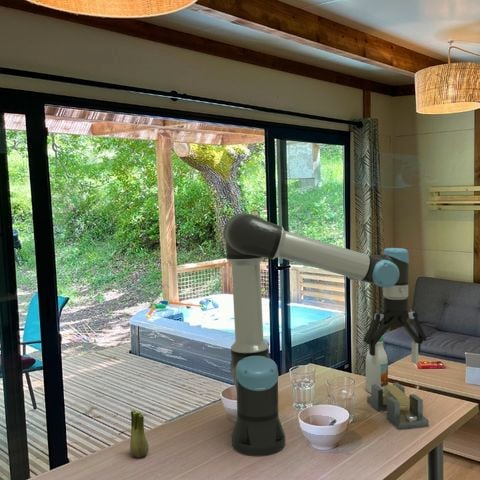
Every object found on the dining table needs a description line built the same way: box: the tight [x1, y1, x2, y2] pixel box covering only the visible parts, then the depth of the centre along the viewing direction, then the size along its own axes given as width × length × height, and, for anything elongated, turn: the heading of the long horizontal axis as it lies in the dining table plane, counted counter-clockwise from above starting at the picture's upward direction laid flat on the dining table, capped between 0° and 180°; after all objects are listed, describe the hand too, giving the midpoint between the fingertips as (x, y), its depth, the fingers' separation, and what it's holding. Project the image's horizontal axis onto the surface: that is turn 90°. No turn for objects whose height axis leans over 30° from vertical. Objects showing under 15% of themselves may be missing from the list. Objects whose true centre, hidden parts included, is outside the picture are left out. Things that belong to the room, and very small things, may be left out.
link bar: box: [384, 384, 410, 415], centre depth 162 cm, size 12×4×5 cm, turn 3°
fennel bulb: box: [129, 409, 149, 458], centre depth 139 cm, size 6×5×12 cm
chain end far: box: [366, 382, 406, 412], centre depth 169 cm, size 10×8×7 cm
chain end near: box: [385, 393, 430, 431], centre depth 155 cm, size 10×8×7 cm
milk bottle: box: [365, 335, 389, 394], centre depth 182 cm, size 8×8×20 cm
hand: (394, 364), depth 162 cm, fingers open, 13 cm apart
